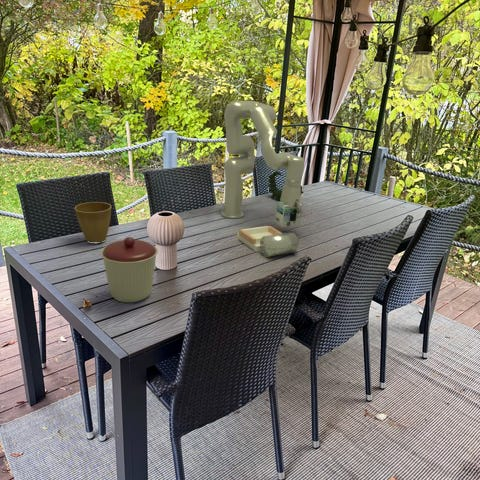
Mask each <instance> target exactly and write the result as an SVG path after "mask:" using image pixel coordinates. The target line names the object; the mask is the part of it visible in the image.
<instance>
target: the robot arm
mask: <svg viewBox="0 0 480 480" xmlns="http://www.w3.org/2000/svg"><path fill="white" fill-rule="evenodd" d="M240 119H243V120H244V119H250V120H251V122H252V124H253V126H254V128H255V130H256V132H257V134H258V136H259V138H260V153H261V156H262V159H263V160H264V162H265V164H266V166H267V167H268V168H269V169H270V170H272V171H280V170H286V173H285V181H284V183H283V186H282V189H281V190H282V194H281V198H280V200H279V202H284V203H285V204H287V205H289V208H291V212H292V213H291V214H290V221H296V215H297V213H298V212H299V210H300V209H301V207H300V204H301V202H300V195H301V196H302V194H301V188H300V187H301V186H302V179H303V173H304V165H305V160H304V158H303V157H302V156H297V155H294V154H292V153H290V152H280V153H277V152H276V151H275V149H274V147H273V139H274V138H275V137H276V136H277V134H278V129H277V128H276V127H275V125H274V122H275V121H276V119H277V111H276V109H275V108H274V107H273V106H271V105H269V104H266V103H262V102H258V101H254V100H236V101H232V102H230V103H228V104H227V105H226V107H225V109H224V125H225V137H226V138H225V139H226V140H225V143H226V152H227V153H228V154H229V155H233V156H234V157H230V158H228V159H227V160H226V161H225V163H224V167H223V168H224V176H225V183H224V186H225V187H224V204H223V205H222V207H223V210H222V211H221V212H220V216H222V217H224V218H226V219H227V218H228V219H242V218H244V216H245V213H244V211H242V210H243V209H242V206H243V190H244V182H243V178H242V176H243V175H247V174H250V173H252V172H253V170H254V169H255V143H254V140H253V138H252V137H251V136H249V135H247V134H245V135H244V134H243V124H242V122H241V121H240ZM236 155H239V156H236ZM295 205H296V207H294V206H295ZM293 208H295V210H294V209H293Z"/></svg>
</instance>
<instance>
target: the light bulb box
mask: <svg viewBox="0 0 480 480" xmlns="http://www.w3.org/2000/svg"><path fill="white" fill-rule="evenodd" d="M276 205H277V207H276V214H275V222H274V223H276V224H277V225H279V227H282V228H283V227H284V228H285V227H293V226H295V227H296V226H300V224H301V218H302V211H303V204H302V203H300V207H301V209H300V210H299V212H298V213H297V215H296V221H290V214H291V213H292V212H291V208H289V205H287V204H285V203H284V202H280V201H277V204H276ZM294 207H296V205H295V206H294ZM293 209H294V210H295V208H293Z"/></svg>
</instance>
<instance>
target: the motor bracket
mask: <svg viewBox="0 0 480 480" xmlns="http://www.w3.org/2000/svg"><path fill="white" fill-rule="evenodd" d="M236 238H237V239H238V240H240V241H241V242H242V243H244V244H245V245H246V246H247V247H249V248H250V249H251V250H253V251H254V252H256V253H257V252H258V253H259V252H261V253H262V255H263V256H264V257H265V258H269V257H275V256H280V255H286V254H292V253H296V252H297V251H298V248H299V238H298V237H297V235H296V234H295V232H292V231H291V232H284V233H283V232H282V231H280V230H278V229H276V228H275V227H273V226H271V225H264V226H257V227H250V228H242V229H239V230H238V232H236Z"/></svg>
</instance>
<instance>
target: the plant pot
mask: <svg viewBox="0 0 480 480" xmlns="http://www.w3.org/2000/svg"><path fill="white" fill-rule="evenodd" d="M74 210H75V211H74V213H75V215H76V219H77V222H78V224H79V227H80V230H81V232H82V234H83V236H84V238H85V240H86V242H87V241H89V242H102V241H104V240H105V241H106V239H107V236H108V233H109V229H110V228H109V227H110V223H111V215H112V205H111V204H110V203H107V202H103V201H91V202H89V201H88V202H83V203H80V204H77V205H75V207H74Z"/></svg>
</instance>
